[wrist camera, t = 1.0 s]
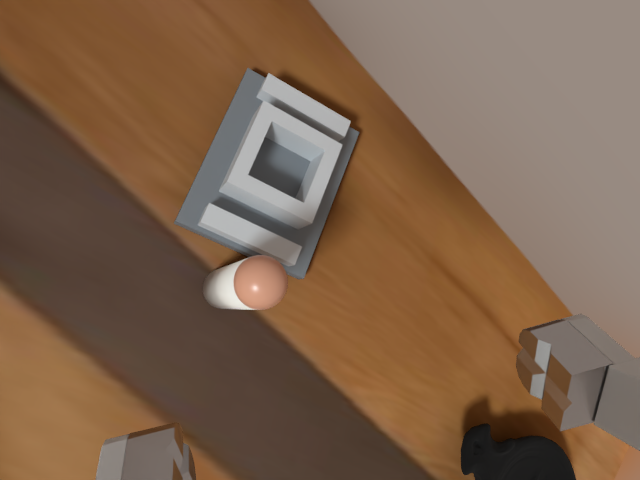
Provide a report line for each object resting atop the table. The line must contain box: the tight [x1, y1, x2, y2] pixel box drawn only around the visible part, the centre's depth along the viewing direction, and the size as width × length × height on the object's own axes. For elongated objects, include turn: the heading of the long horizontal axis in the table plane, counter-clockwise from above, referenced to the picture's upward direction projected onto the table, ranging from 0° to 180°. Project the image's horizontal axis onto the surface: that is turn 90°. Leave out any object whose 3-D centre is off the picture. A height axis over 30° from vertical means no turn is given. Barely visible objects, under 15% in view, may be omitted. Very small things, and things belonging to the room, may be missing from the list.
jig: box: [174, 68, 359, 279], centre depth 49 cm, size 18×14×6 cm
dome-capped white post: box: [203, 255, 288, 310], centre depth 41 cm, size 4×4×16 cm
